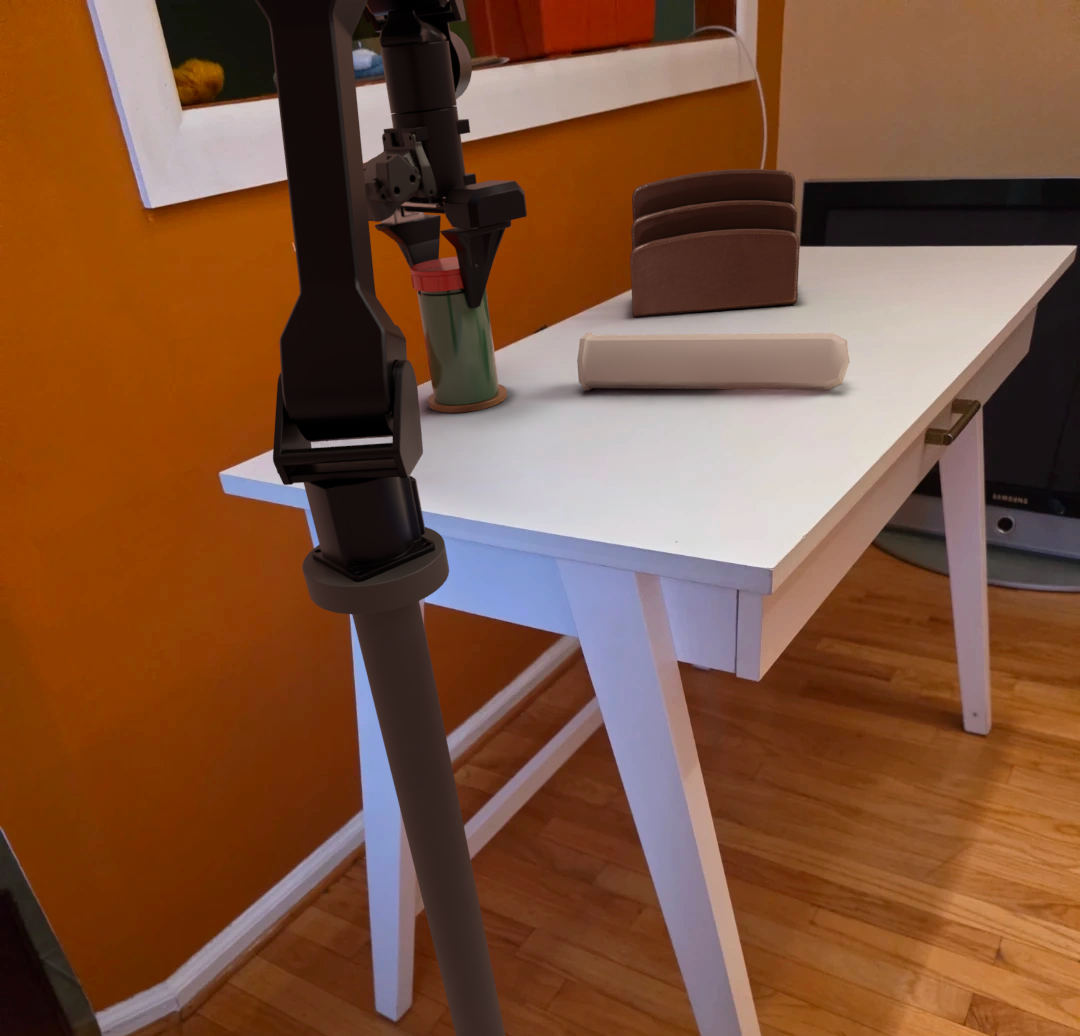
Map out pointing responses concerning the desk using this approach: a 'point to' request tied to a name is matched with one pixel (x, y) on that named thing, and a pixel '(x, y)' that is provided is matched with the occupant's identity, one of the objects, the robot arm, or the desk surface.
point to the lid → (437, 275)
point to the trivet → (469, 407)
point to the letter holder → (714, 242)
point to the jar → (458, 347)
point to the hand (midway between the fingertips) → (451, 303)
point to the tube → (713, 361)
